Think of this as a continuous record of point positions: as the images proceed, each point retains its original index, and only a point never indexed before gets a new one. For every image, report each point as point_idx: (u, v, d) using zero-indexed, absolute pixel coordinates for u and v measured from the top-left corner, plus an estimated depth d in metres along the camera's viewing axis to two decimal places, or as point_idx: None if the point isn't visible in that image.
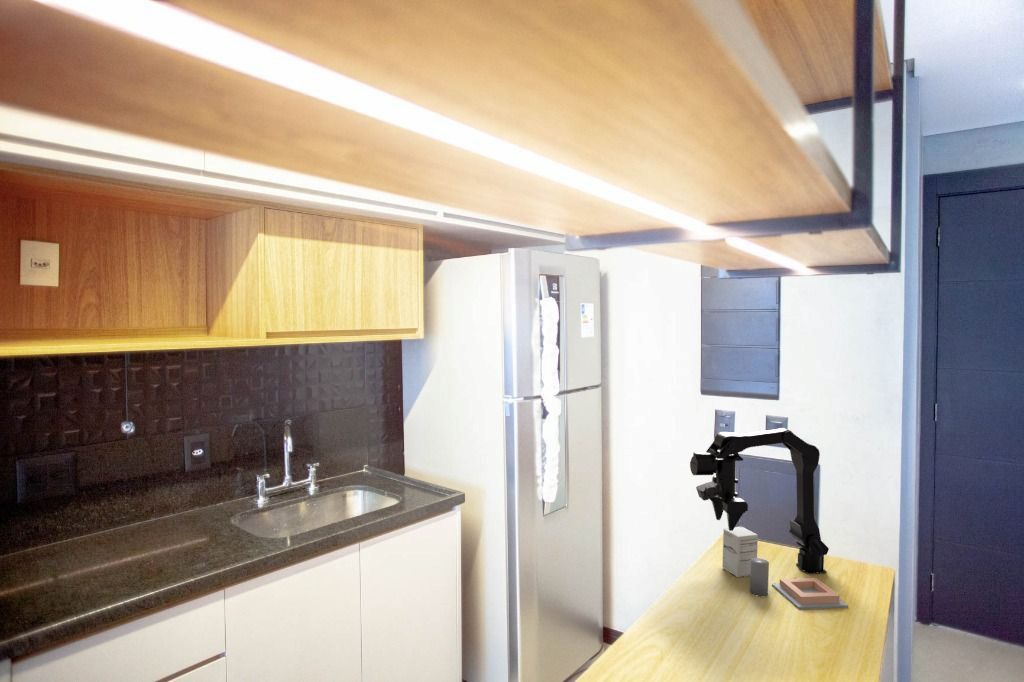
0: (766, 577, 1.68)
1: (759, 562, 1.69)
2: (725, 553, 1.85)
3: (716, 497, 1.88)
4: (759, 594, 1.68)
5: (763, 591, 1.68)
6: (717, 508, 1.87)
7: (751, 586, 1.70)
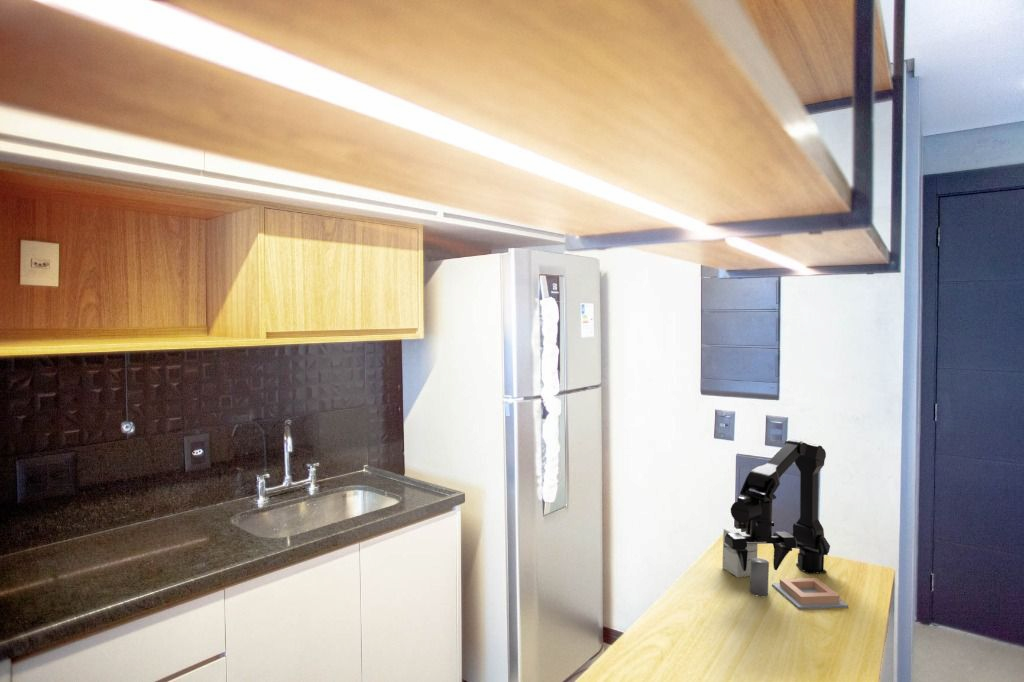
0: (766, 577, 1.68)
1: (759, 562, 1.69)
2: (725, 553, 1.85)
3: (777, 544, 1.70)
4: (759, 594, 1.68)
5: (763, 591, 1.68)
6: (775, 556, 1.70)
7: (751, 586, 1.70)
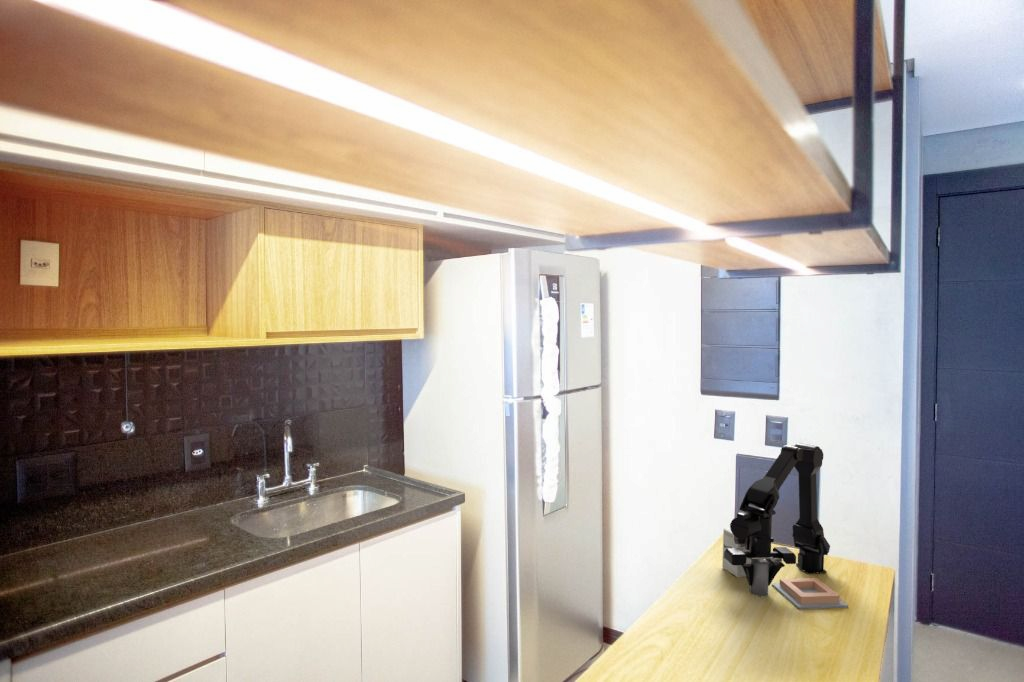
0: (766, 577, 1.68)
1: (759, 562, 1.69)
2: None
3: (769, 560, 1.70)
4: (759, 594, 1.68)
5: (763, 591, 1.68)
6: None
7: (751, 586, 1.70)
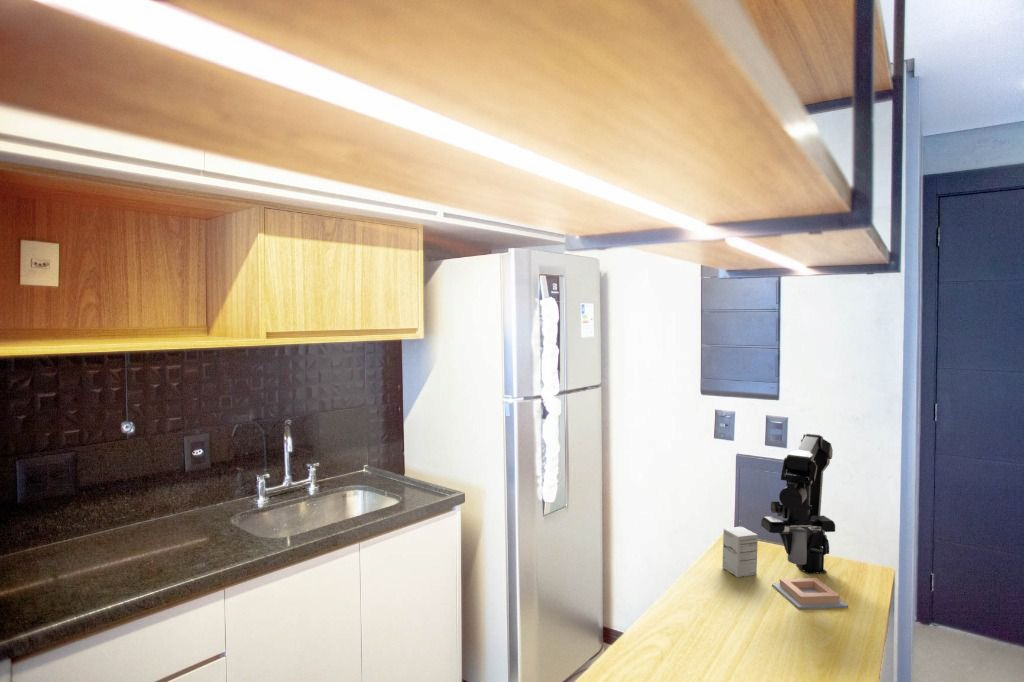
0: (804, 545, 1.66)
1: (797, 530, 1.67)
2: (725, 553, 1.85)
3: (808, 528, 1.69)
4: (797, 562, 1.66)
5: (802, 559, 1.66)
6: None
7: None
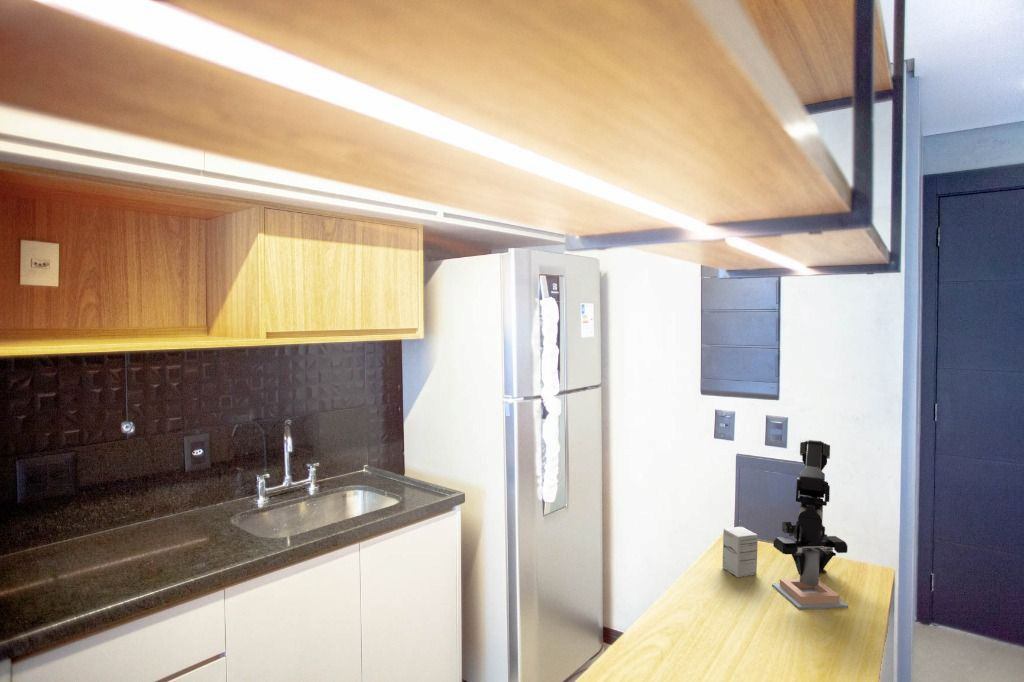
0: (817, 566, 1.66)
1: (809, 551, 1.67)
2: (725, 553, 1.85)
3: (820, 549, 1.68)
4: (810, 583, 1.66)
5: (814, 580, 1.66)
6: None
7: None
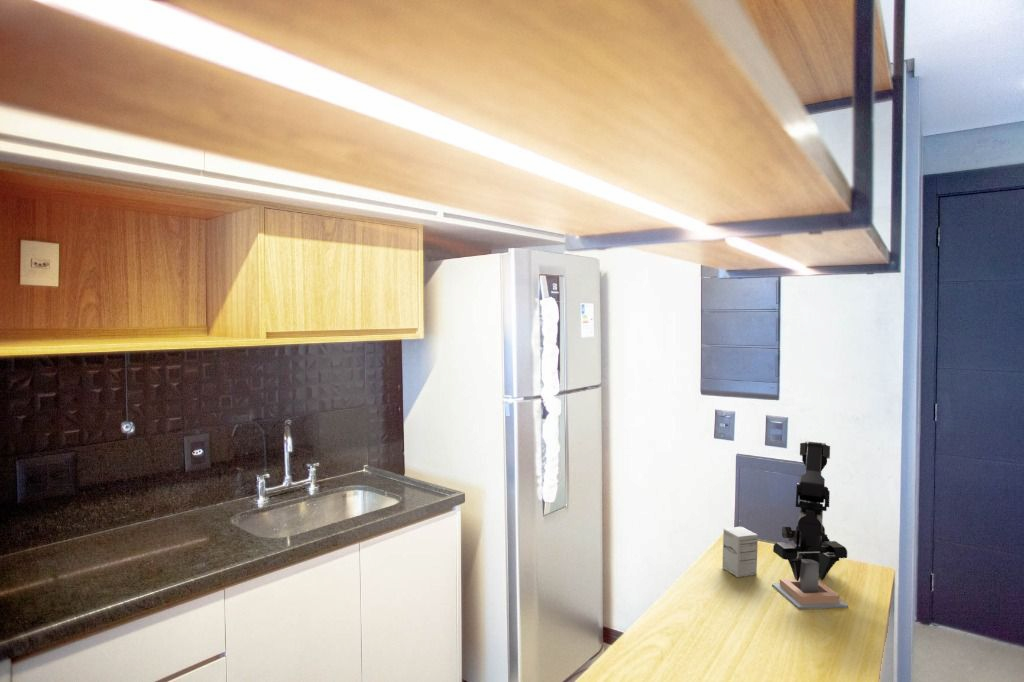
0: (817, 578, 1.66)
1: (809, 563, 1.67)
2: (725, 553, 1.85)
3: (823, 554, 1.68)
4: None
5: (814, 592, 1.66)
6: (821, 566, 1.68)
7: (801, 587, 1.68)
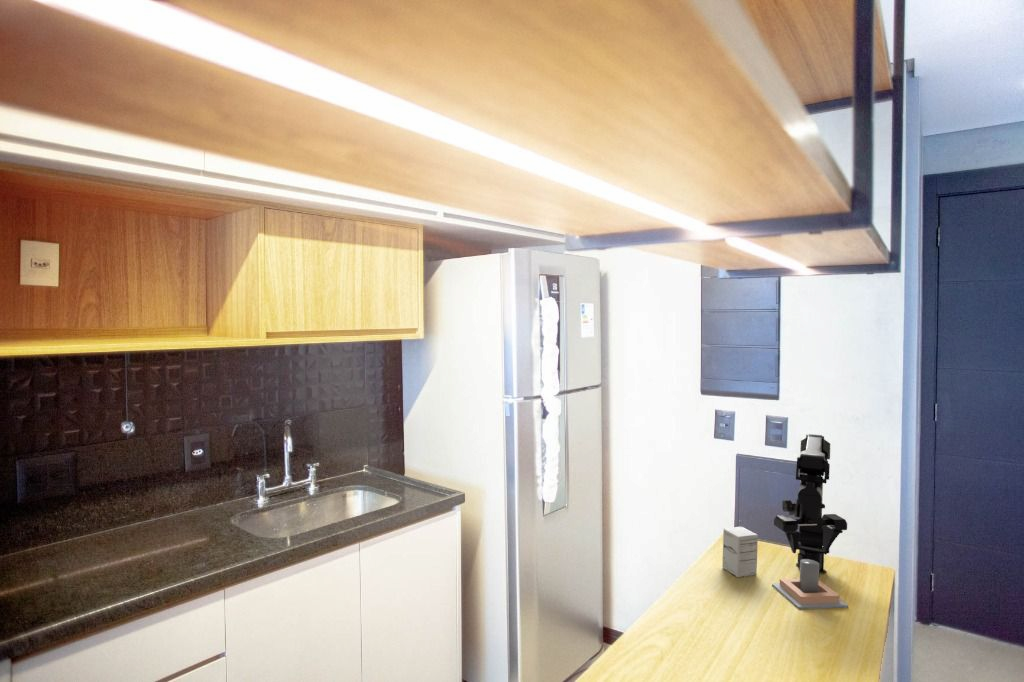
0: (817, 578, 1.66)
1: (809, 563, 1.67)
2: (725, 553, 1.85)
3: (826, 527, 1.70)
4: None
5: (814, 592, 1.66)
6: (824, 538, 1.70)
7: (801, 587, 1.68)
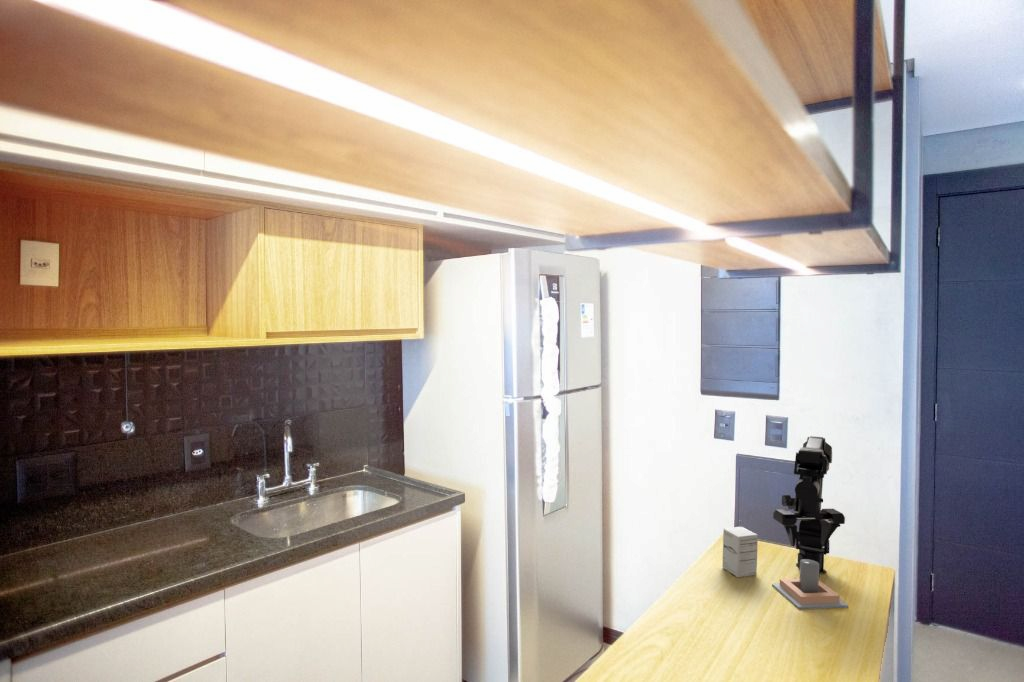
0: (817, 578, 1.66)
1: (809, 563, 1.67)
2: (725, 553, 1.85)
3: (824, 521, 1.74)
4: None
5: (814, 592, 1.66)
6: (823, 532, 1.74)
7: (801, 587, 1.68)
